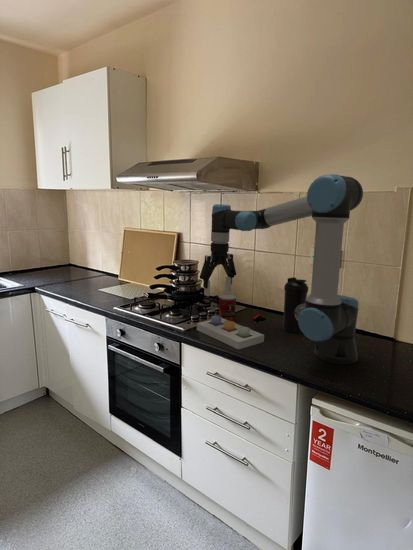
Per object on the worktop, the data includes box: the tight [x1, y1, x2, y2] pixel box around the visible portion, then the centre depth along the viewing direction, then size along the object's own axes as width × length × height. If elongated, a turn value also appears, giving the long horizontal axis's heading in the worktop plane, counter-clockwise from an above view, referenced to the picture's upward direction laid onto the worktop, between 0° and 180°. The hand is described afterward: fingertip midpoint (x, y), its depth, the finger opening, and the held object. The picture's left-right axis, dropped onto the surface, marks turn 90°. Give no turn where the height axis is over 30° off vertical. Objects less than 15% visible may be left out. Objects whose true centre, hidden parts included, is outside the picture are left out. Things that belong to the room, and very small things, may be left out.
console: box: [196, 318, 265, 350], centre depth 161 cm, size 26×14×3 cm, turn 39°
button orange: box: [224, 320, 236, 332], centre depth 161 cm, size 4×4×4 cm
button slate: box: [210, 315, 222, 326], centre depth 167 cm, size 4×4×4 cm
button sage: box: [238, 325, 251, 338], centre depth 154 cm, size 4×4×4 cm
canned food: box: [218, 294, 237, 321], centre depth 182 cm, size 8×8×11 cm
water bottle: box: [282, 276, 309, 334], centre depth 170 cm, size 10×10×23 cm
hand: (217, 293), depth 165 cm, fingers open, 11 cm apart
